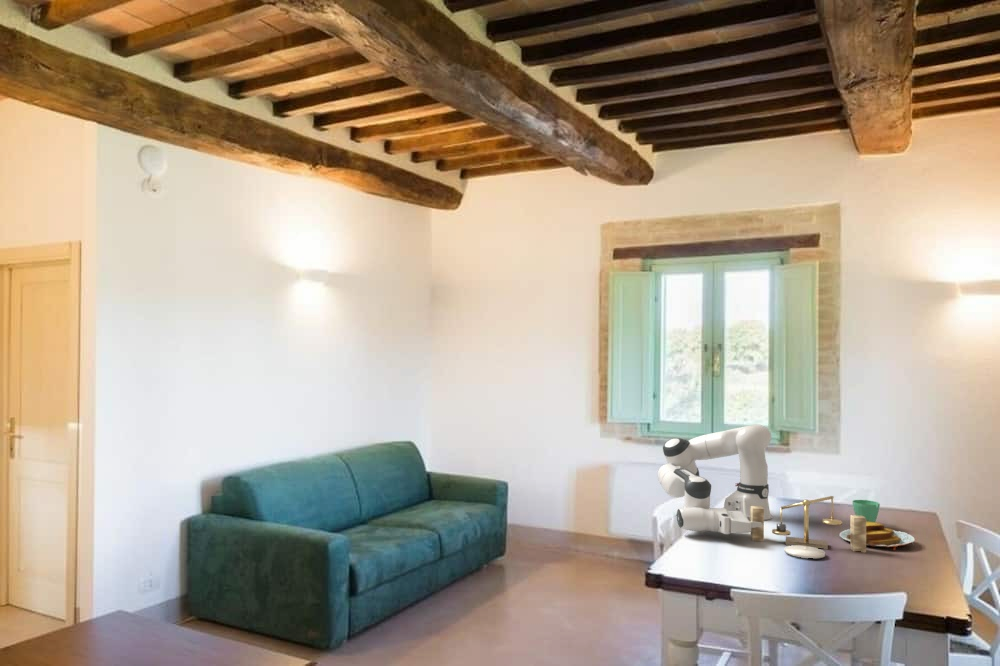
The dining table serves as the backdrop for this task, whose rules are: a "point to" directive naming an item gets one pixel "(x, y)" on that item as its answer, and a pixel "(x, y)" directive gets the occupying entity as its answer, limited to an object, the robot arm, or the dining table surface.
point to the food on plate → (881, 536)
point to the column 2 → (858, 533)
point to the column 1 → (756, 515)
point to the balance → (806, 526)
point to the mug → (866, 509)
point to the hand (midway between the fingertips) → (759, 522)
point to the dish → (804, 551)
